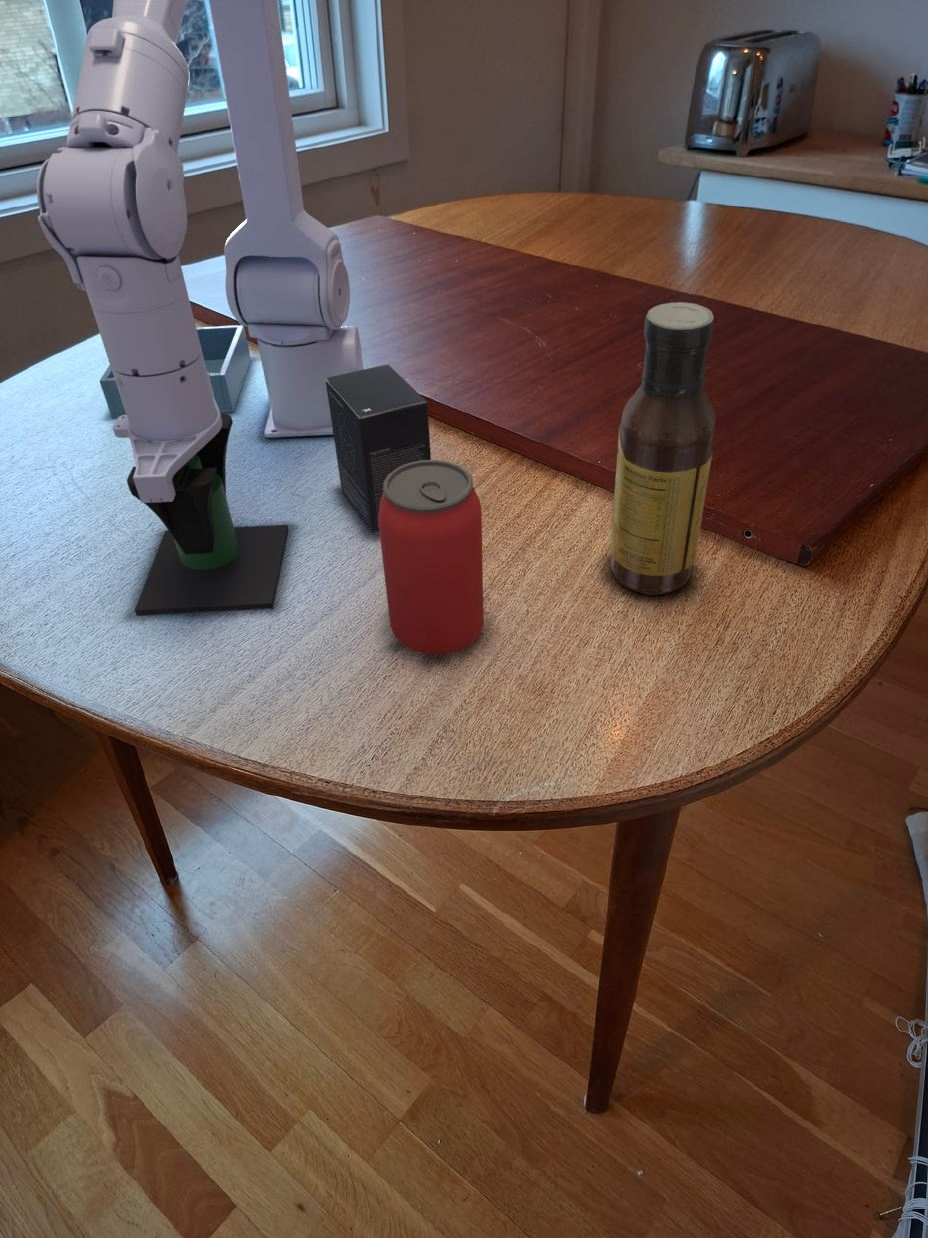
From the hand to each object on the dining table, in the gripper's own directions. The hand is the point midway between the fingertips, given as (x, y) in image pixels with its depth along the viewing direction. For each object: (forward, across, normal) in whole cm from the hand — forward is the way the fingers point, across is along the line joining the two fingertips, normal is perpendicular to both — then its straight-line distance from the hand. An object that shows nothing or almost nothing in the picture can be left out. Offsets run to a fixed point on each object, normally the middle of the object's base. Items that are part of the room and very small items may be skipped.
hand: (205, 530), depth 63 cm
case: (+4, -32, -9) cm, 33 cm away
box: (+4, -8, +13) cm, 16 cm away
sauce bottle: (+4, +3, +33) cm, 33 cm away
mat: (+4, 0, 0) cm, 4 cm away
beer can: (+4, +8, +17) cm, 19 cm away
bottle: (+2, 0, 0) cm, 2 cm away
